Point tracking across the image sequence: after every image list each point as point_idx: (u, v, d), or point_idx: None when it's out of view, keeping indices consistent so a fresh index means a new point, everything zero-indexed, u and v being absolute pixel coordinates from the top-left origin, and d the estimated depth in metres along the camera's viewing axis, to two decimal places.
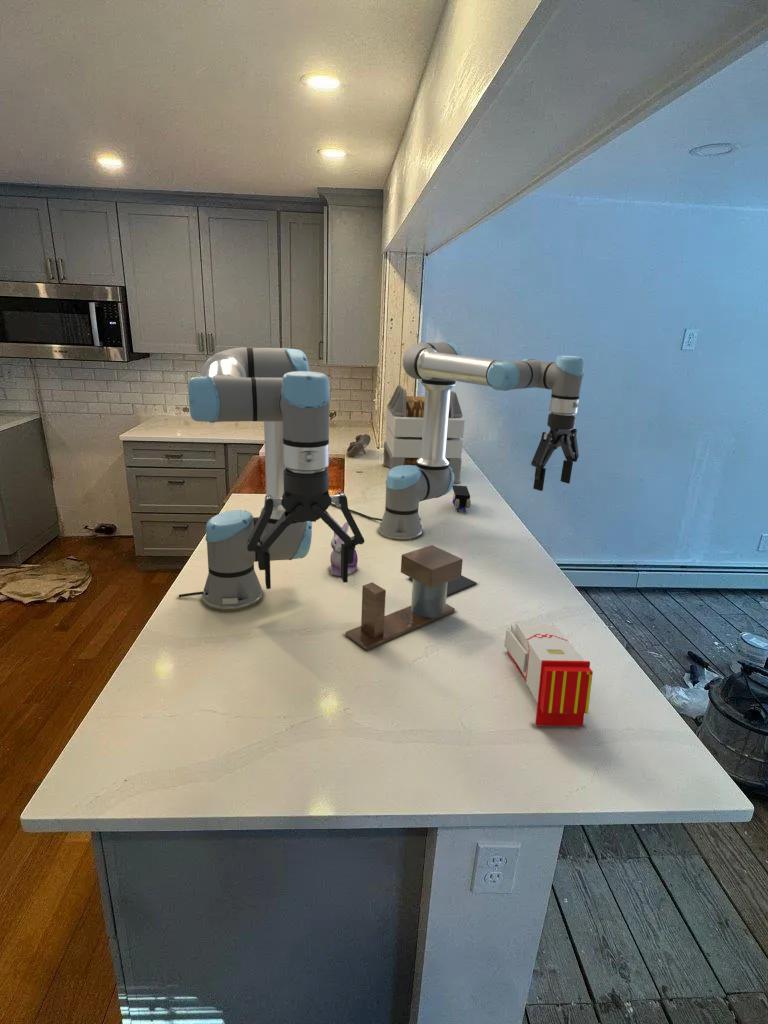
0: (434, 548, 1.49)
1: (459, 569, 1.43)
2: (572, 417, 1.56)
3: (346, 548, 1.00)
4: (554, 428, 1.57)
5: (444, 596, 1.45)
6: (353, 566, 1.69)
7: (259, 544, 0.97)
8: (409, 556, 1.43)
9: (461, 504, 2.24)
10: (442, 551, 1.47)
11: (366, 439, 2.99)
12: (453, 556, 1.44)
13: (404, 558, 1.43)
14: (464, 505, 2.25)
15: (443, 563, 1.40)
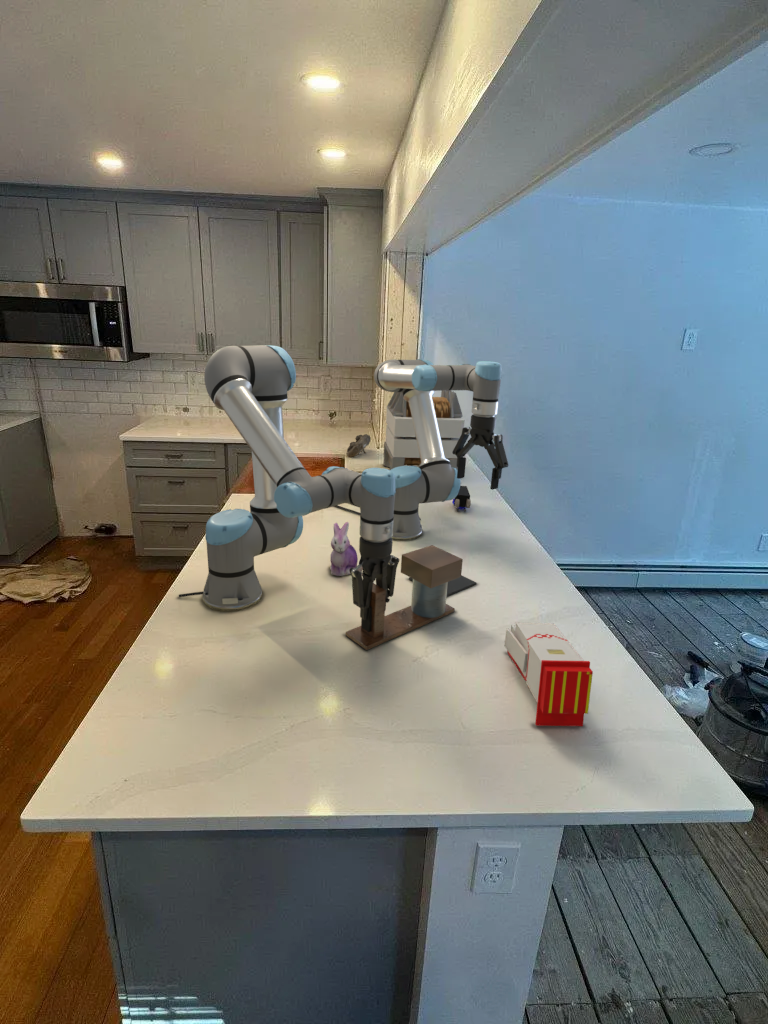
0: (434, 548, 1.49)
1: (459, 569, 1.43)
2: (474, 417, 1.68)
3: None
4: None
5: (444, 596, 1.45)
6: (353, 566, 1.69)
7: None
8: (409, 556, 1.43)
9: (461, 504, 2.24)
10: (442, 551, 1.47)
11: (366, 439, 2.99)
12: (453, 556, 1.44)
13: (404, 558, 1.43)
14: (464, 505, 2.25)
15: (443, 563, 1.40)
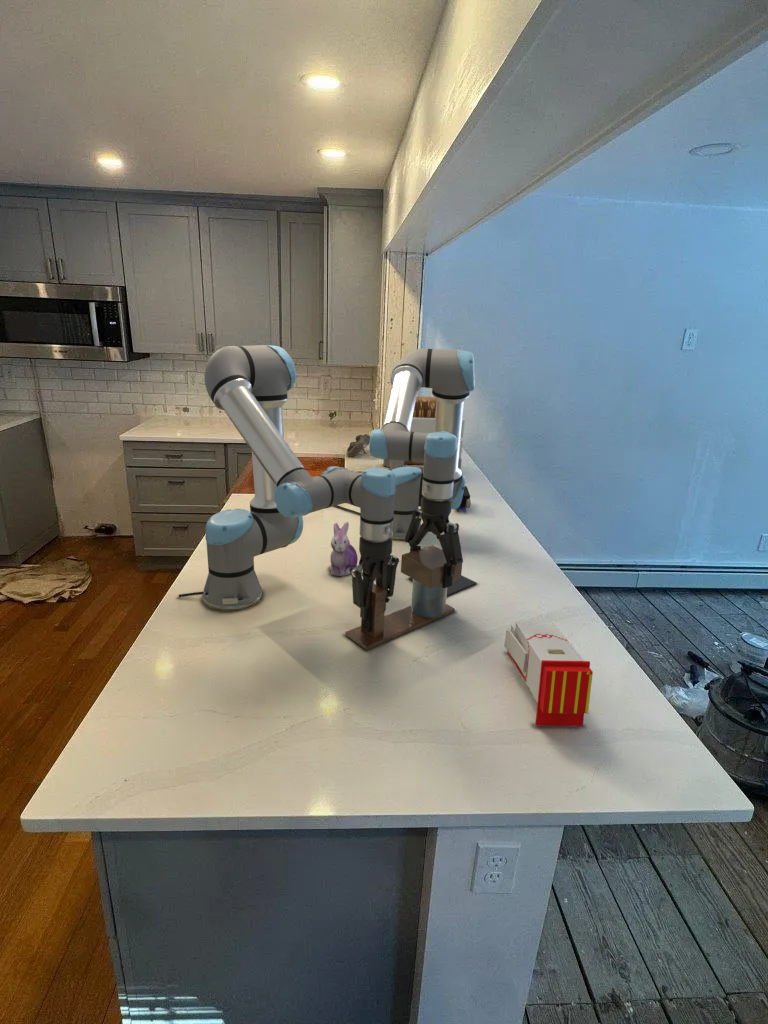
0: (434, 548, 1.49)
1: (459, 569, 1.43)
2: (424, 500, 1.37)
3: None
4: None
5: (444, 596, 1.45)
6: (353, 566, 1.69)
7: None
8: (409, 556, 1.43)
9: (461, 504, 2.24)
10: (442, 551, 1.47)
11: (366, 439, 2.99)
12: None
13: (404, 558, 1.43)
14: (464, 505, 2.25)
15: (443, 563, 1.40)
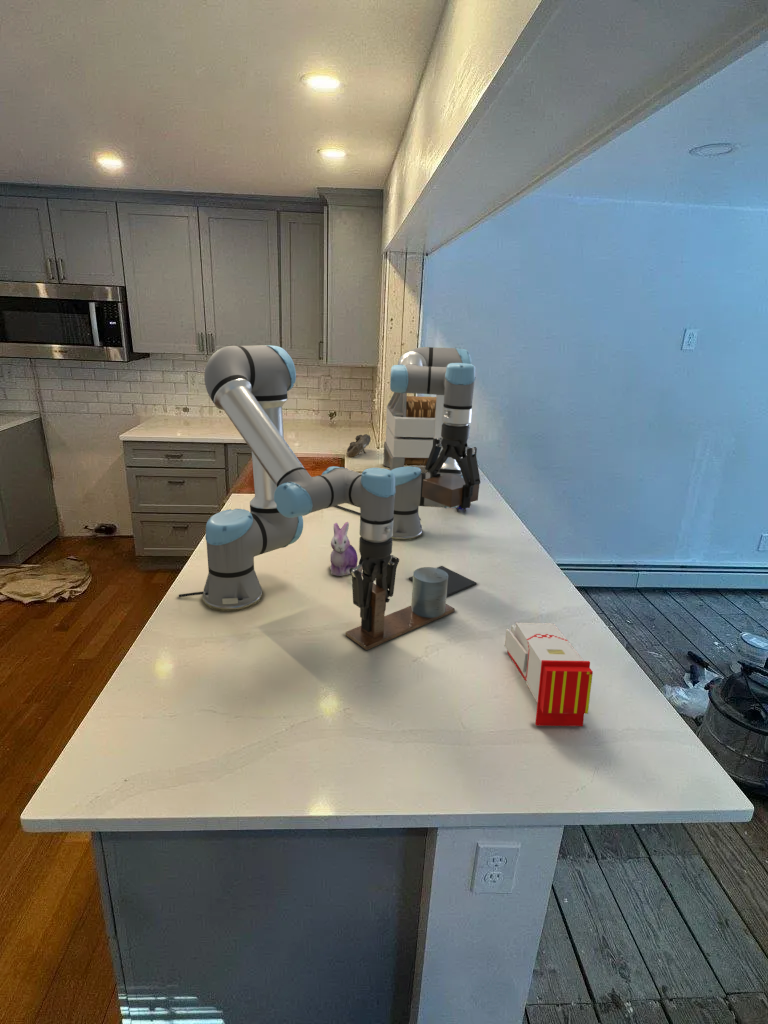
0: (453, 475, 1.61)
1: (476, 493, 1.55)
2: (445, 426, 1.48)
3: None
4: None
5: (444, 596, 1.45)
6: (353, 566, 1.69)
7: None
8: (429, 480, 1.55)
9: None
10: (460, 478, 1.59)
11: (366, 439, 2.99)
12: None
13: (425, 482, 1.55)
14: None
15: (461, 485, 1.52)
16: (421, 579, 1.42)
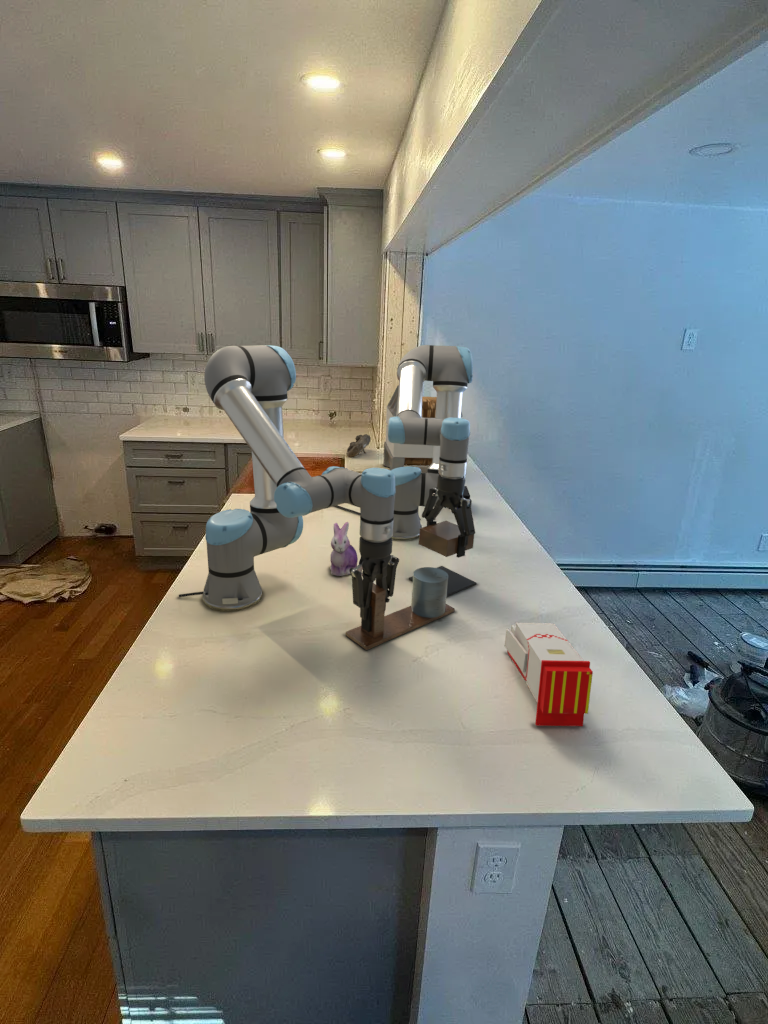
0: (448, 523, 1.65)
1: (471, 541, 1.60)
2: (441, 478, 1.53)
3: None
4: None
5: (444, 596, 1.45)
6: (353, 566, 1.69)
7: None
8: (426, 529, 1.60)
9: None
10: (456, 525, 1.64)
11: (366, 439, 2.99)
12: None
13: (422, 531, 1.60)
14: None
15: (457, 535, 1.57)
16: (421, 579, 1.42)
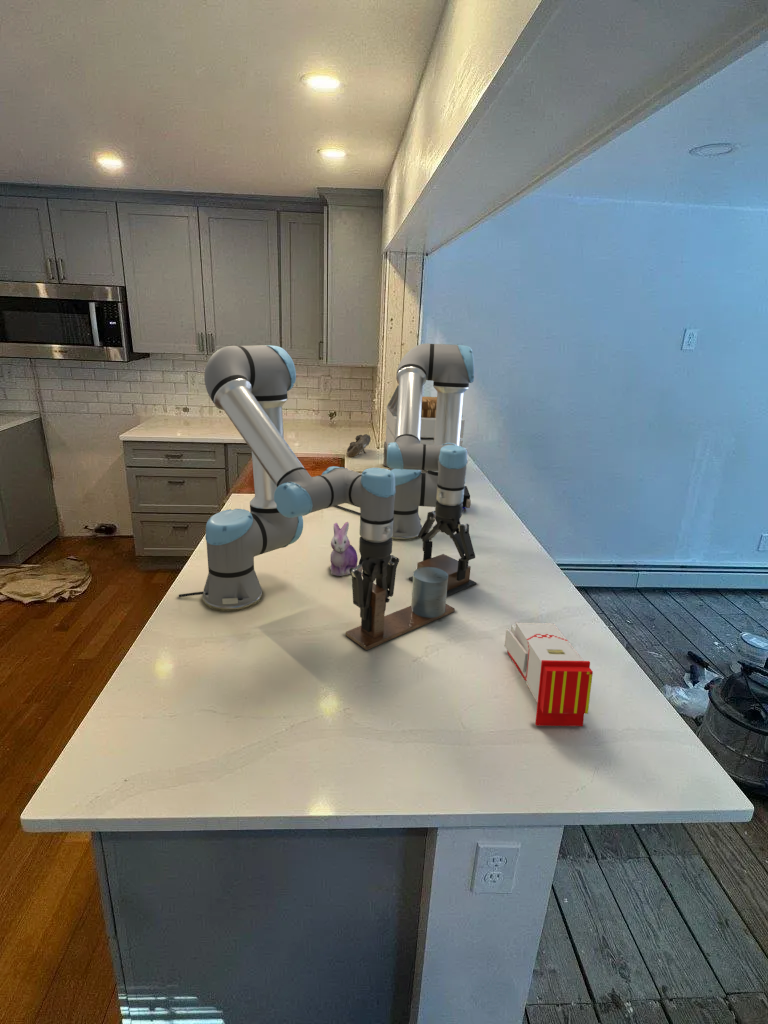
0: (445, 557, 1.69)
1: (467, 576, 1.64)
2: (439, 505, 1.56)
3: None
4: None
5: (444, 596, 1.45)
6: (353, 566, 1.69)
7: None
8: (423, 564, 1.64)
9: None
10: (452, 559, 1.68)
11: (366, 439, 2.99)
12: None
13: (419, 566, 1.64)
14: (464, 505, 2.25)
15: (454, 570, 1.61)
16: (421, 579, 1.42)
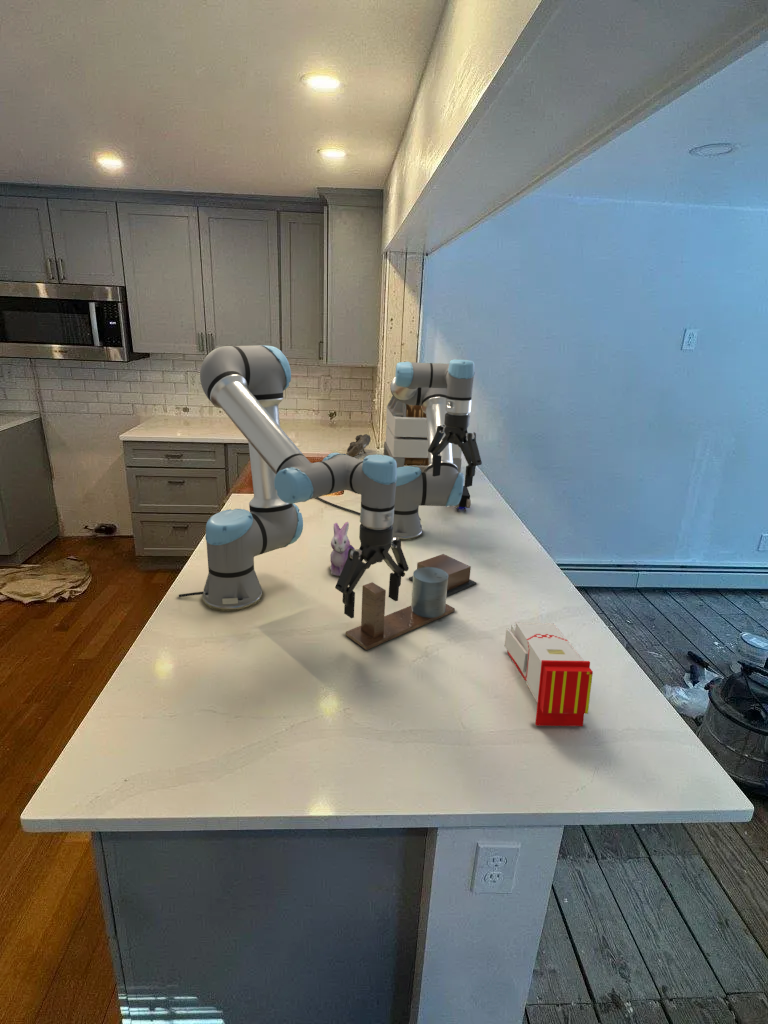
0: (445, 557, 1.69)
1: (467, 576, 1.64)
2: (448, 415, 1.69)
3: (397, 576, 1.36)
4: None
5: (444, 596, 1.45)
6: None
7: None
8: (423, 564, 1.64)
9: (461, 504, 2.24)
10: (452, 559, 1.68)
11: (366, 439, 2.99)
12: (462, 564, 1.65)
13: (419, 566, 1.64)
14: (464, 505, 2.25)
15: (454, 570, 1.61)
16: (421, 579, 1.42)
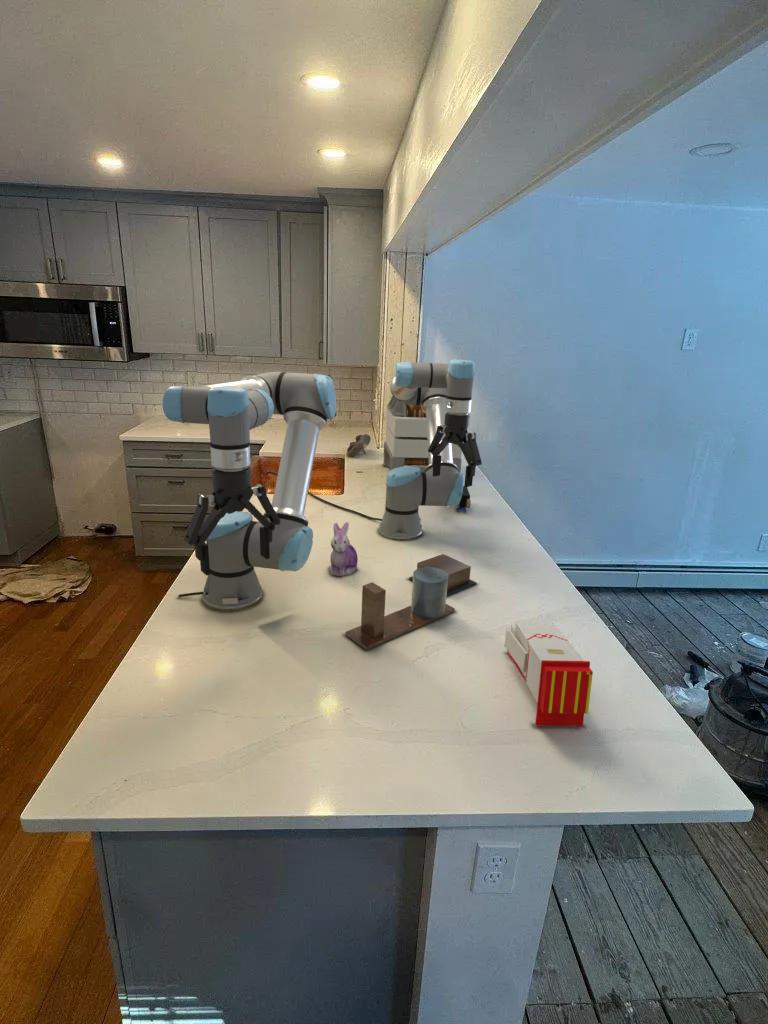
0: (445, 557, 1.69)
1: (467, 576, 1.64)
2: (448, 415, 1.69)
3: (267, 530, 1.21)
4: None
5: (444, 596, 1.45)
6: (353, 566, 1.69)
7: (196, 538, 1.11)
8: (423, 564, 1.64)
9: (461, 504, 2.24)
10: (452, 559, 1.68)
11: (366, 439, 2.99)
12: (462, 564, 1.65)
13: (419, 566, 1.64)
14: (464, 505, 2.25)
15: (454, 570, 1.61)
16: (421, 579, 1.42)
